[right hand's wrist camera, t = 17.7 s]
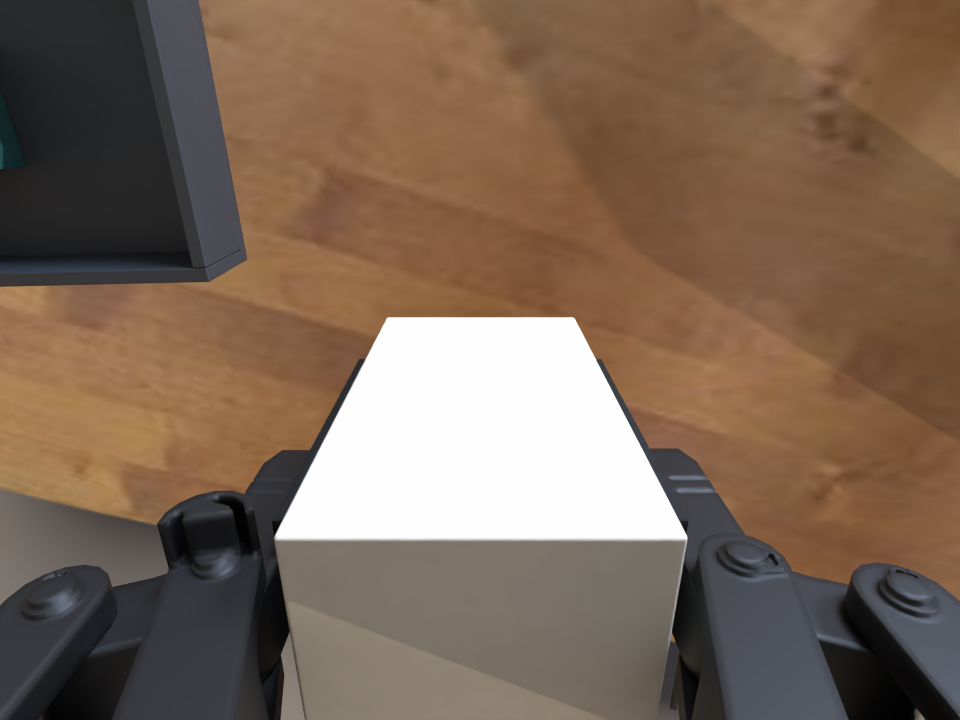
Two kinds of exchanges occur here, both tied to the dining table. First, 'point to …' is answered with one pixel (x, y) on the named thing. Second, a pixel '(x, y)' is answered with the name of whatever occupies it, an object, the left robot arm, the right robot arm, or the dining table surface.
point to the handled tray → (113, 146)
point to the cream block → (480, 536)
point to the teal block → (9, 141)
